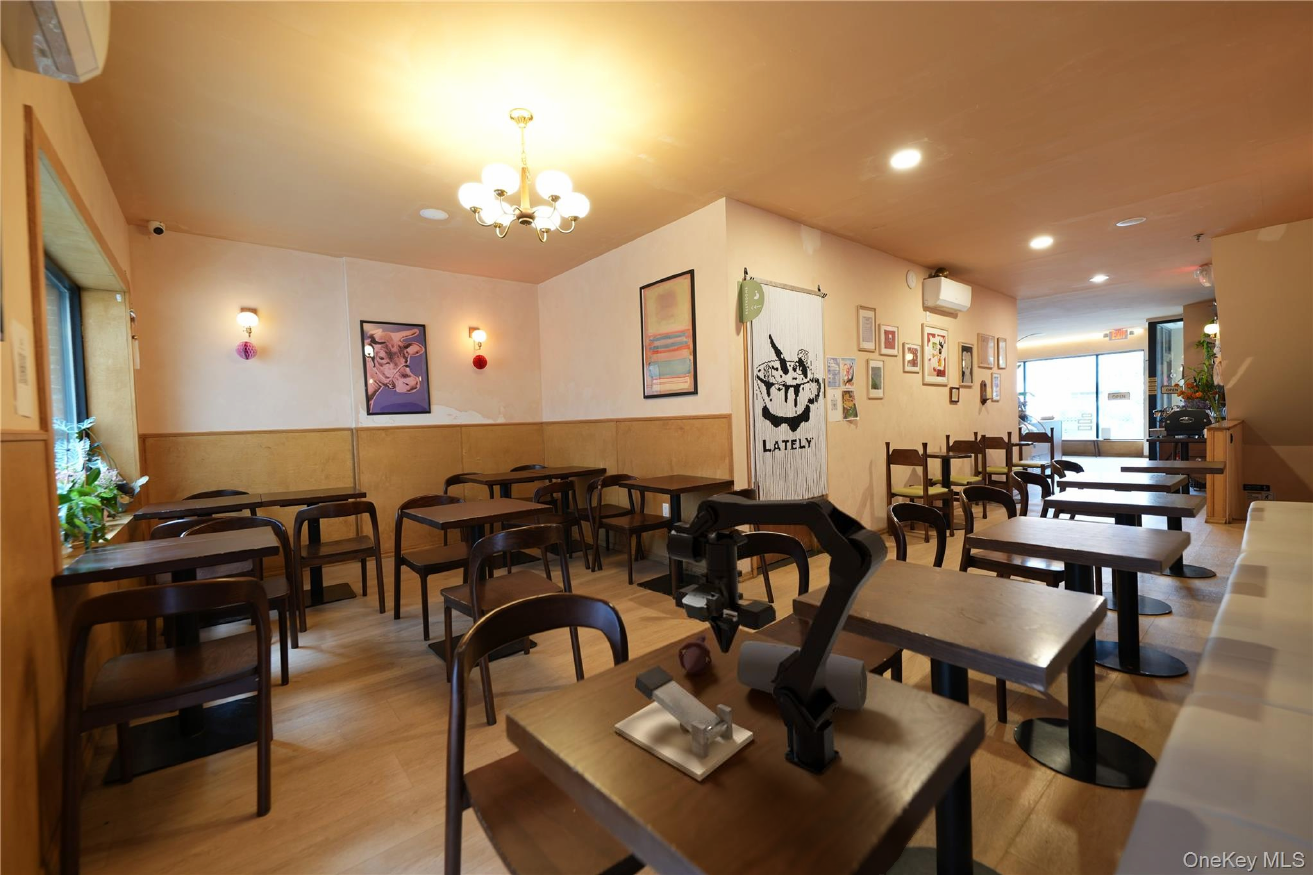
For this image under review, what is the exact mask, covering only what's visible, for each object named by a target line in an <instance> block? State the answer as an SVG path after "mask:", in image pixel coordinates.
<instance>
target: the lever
mask: <svg viewBox="0 0 1313 875" xmlns="http://www.w3.org/2000/svg"><path fill="white" fill-rule="evenodd" d="M634 687H635V689H637V690H638V691H639V692H640V693H641V694H642V695H643V696H645V697H646V698H647V699H648V700H649V701H651V700H653V701H654V702H655V701H656V702H657V703H658V704H659V705H660V706H662V707H663V708H664V709H665V710H666V711H667V712H668V713H670V714H671V715H672V716H673V717H674V718H675V719H677V720H678V721H679V722H680V723H681V724H682V725H684V726H685V727H686V728H687V729H688V730H689V731H690V732H691V723H693V722H694V721H697V722H699V723H701V724H703V725H705V726H706V728H707V745H708V744H709V743H710V742H712V741H713V740H715V739H716V738H717V737H719V736H720V735H721V734H723V733H724V732H725V731H726V727H727V723H725V722H724V721H723V720H722V719H720V718H719V717H718V716H717V714H716V713H715V712H713V711H712V710H711V709H709V708H708V707H707V706H706V705H704V704H703V703H702V702H700V701H699V699H697V698H696V697H695V696H694V695H692V694H690V693H689V692H688V691H687V690H685V689H684V687H682V686H681V685H680V684H678V683H677V682H676V681H674V676H673V675H672V674H670V673H669V672H667V671H666V670H665V669H664V668H662V667H661V666H660V665H656V666H654V667H652V668H649V669H648V670H647V671H644V672H642V673H640V674H639V675H637V676H636V677H635V683H634Z"/></svg>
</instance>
